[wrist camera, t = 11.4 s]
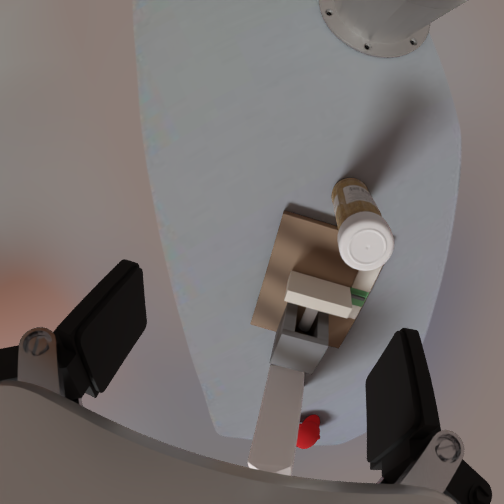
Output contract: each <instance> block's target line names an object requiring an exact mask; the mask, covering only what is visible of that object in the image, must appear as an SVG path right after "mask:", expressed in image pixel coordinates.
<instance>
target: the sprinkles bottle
mask: <svg viewBox="0 0 504 504" xmlns="http://www.w3.org/2000/svg"><path fill="white" fill-rule="evenodd" d="M332 202H333V204H334V211H335V216H336V222H337V226H338V237H337V238H338V247H339V252H340V255H341V257H342V259H343V260H344V262H345V263H346V264H347V265H349V266H350V267H352V268H354V269H357V270H362V271H369V270H373V269H376V268H378V267H380V266H382V265H383V264H385V263H386V262H387V261H388V259H389V258H390V256H391V254H392V252H393V249H394V237H393V234H392V232H391V229H390V227H389V225H388V224H387V222H386V221H385V220H384V219H383V218H382V216H381V213H380V211H379V209H378V207H377V205H376V203H375V202H374V200H373V198H372V196H371V195H370V193H369V191H368V189H367V187H366V185H365V184H364V183H363V182H361V181H360V180H358V179H355V178H346V179H342V180H341V181H339V182H338V183H337V184H336V185H335V186H334V188H333V191H332Z"/></svg>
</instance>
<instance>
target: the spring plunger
mask: <svg viewBox="0 0 504 504" xmlns="http://www.w3.org/2000/svg"><path fill="white" fill-rule="evenodd" d="M351 298H354V299H357V300H361V301H364V300H365V297H362V296H359V295H355V294H352V293H351V291H350V287H346V286H343V285H339V284H336V283H333V282H329V281H326V280H322V279H319V278H316V277H312V276H309V275H305V274H302V273H299V272H295V271H292V270H291V273H290V276H289V279H288V282H287V288H286V293H285V298H284V301H286V302H290V303H293V304H297V305H300V306H304V307H306V309H305V312H304V314H303V316H302V319H301V321H300V323H299V326H298V327H299V329H300V330H302V331H304V332H307V331H309V330H310V328H311V326H312V324H313V321H314V319H315V317H316V315H317V313H318V311H321V312H325V313H329V314H332V315H336V316H340V317H343V318H348V316H349V314H350V312H351V310H352V300H351Z"/></svg>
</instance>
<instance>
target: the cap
mask: <svg viewBox="0 0 504 504" xmlns="http://www.w3.org/2000/svg"><path fill="white" fill-rule="evenodd" d="M319 425H320V419H319V417H318V416H317V415H315V414H313V415H310V416H308V417H307V418H306V419H305V420H304V421H303V423H302V424H299V430H298V437H297V444H296V447H299V448H302V449H306V448H309V447H311V446H313V445H314V444H315V443H316V441H317V440H318V439H320V435H319V434H320V429H319Z"/></svg>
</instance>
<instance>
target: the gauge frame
mask: <svg viewBox="0 0 504 504" xmlns="http://www.w3.org/2000/svg"><path fill="white" fill-rule="evenodd" d="M337 237H338V226H334V225H331V224H328V223H325V222H322V221H318V220H315V219H312V218H309V217H305V216H302V215H299V214H295V213H292V212H289V211H285V210H284V212H283V216H282V219H281V223H280V226H279V229H278V233H277V236H276V240H275V243H274V247H273V250H272V254H271V257H270V260H269V264H268V267H267V271H266V274H265V277H264V281H263V284H262V287H261V291H260V294H259V297H258V301H257V304H256V307H255V311H254V314H253V317H252V321H251V325H255V326H258V327H262V328H265V329H268V330H272V331H275V332H276V335H275V340H274V345H273V350H272V354H271V359H270V364H274V365H277V366H281V367H285V368H288V369H292V370H296V371H300V372H304V373H308V374H312V373H313V372H314V370H315V368H316V367H317V365H318V363H319V362H320V360H321V358H322V357H323V355H324V353H325V351H326V350H327V348H328V346H331V347H335V348H339V347H340V345H341V344H342V342H343V340H344V338H345V337H346V335H347V333H348V331H349V330H350V328H351V326H352V324H353V323H354V321H355V319H356V317H357V315H358V314H359V312H360V310H361V308H362V306H363V304H364V303H365V301H366V299H367V297H368V295H369V293H370V291H371V289H372V287H373V285H374V283H375V281H376V279H377V277H378V275H379V273H380V271H381V269H382V267H383V265H384V264H383V265H382V266H380V267H378V268H376V269H373V270H369V271H362V270H357V269H354V268H352V267H350V266H349V265H347V264H346V263H345V262H344V260H343V259H342V257H341V255H340V252H339V247H338V238H337ZM291 270H292V271H295V272H299V273H302V274H305V275H309V276H312V277H316V278H319V279H322V280H326V281H329V282H333V283H336V284H339V285H343V286H346V287H350V291H351V293H352V294H355V295H359V296H362V297H365V300H364V301H361V300H357V299H354V298H351V300H352V310H351V312H350V314H349V316H348V318H343V317H340V316H336V315H332V314H329V313H325V312H321V311H318V313H317V315H316V317H315V319H314V321H313V324H312V326H311V328H310V330H309V331H307V332H304V331H302V330H300V329H299V327H298V326H299V323H300V321H301V319H302V316H303V314H304V312H305V309H306V307H304V306H300V305H297V304H293V303H290V302H286V301H284V298H285V293H286V288H287V282H288V279H289V276H290V273H291Z"/></svg>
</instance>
